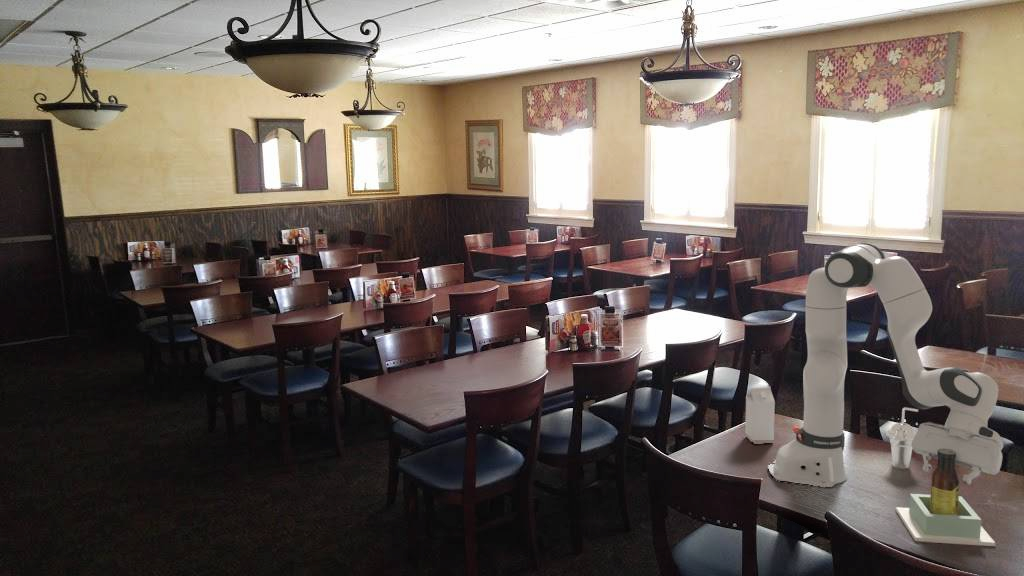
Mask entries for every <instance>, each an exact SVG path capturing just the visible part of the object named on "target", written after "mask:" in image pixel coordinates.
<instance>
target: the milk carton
mask: <svg viewBox="0 0 1024 576" xmlns="http://www.w3.org/2000/svg"><path fill="white" fill-rule="evenodd" d="M771 388H772V387H771V386H764V387H763V386H761V387H750V389H749V390H750V391H749V392H748V393H747V395H746V396H745V429H744V431H745V433H746V434H747V435H748V436H749V437H750V438H751V439H752V440H774V439H775V416H776V415H775V409H776V408H775V407H776V406H775V405H776V401H775V398H774V395H773V393H772V389H771ZM745 433H744V434H745ZM774 441H775V440H774Z"/></svg>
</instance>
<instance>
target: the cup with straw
mask: <svg viewBox="0 0 1024 576" xmlns="http://www.w3.org/2000/svg"><path fill="white" fill-rule="evenodd" d="M905 411H911V412H916V413H917V412H918V413H919V412H920V409H919V408H912V407H903V408H902V411H901V422H897V423H895V424H893V425H892V426H891V428H890V429H888V431H887V433H886V435H887V437H889V443H890V449H891V452H890V453H891V462H892V466H893V467H894V468H897V469H900V470H901V469H902V470H903V469H904V470H905V469H906V468H907V469H909V468H910V467H909V465H910V462H911V458H912V454H913V453H912V452H913V448H912V446H911V443H912V441H913V439H914V437H915V435H916V434H917V432H915V429H914V428H913V427H912V426H911V424H908V423H906V422H905V413H906V412H905ZM908 467H909V468H908Z"/></svg>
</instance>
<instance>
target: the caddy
mask: <svg viewBox="0 0 1024 576" xmlns="http://www.w3.org/2000/svg"><path fill="white" fill-rule="evenodd" d="M930 495H931V494H922V493H909V502H908V503H909V504H908V505H909V506H908V507H897V506H896V507H895V511H896V514H897V515H898V516H899V518H900V520H901V521H902V523H903V524H904V526H905V528H906V529H907V530H908V532H909V534H910V535H911V537H912V538H913V540H914V542H923V543H936V544H937V543H938V544H939V543H941V544H953V545H968V546H985V547H996V542H995V540H994V539H993V538H992V537H991V536H990V535H989V533H988V532H987V531H986V530H985V529H984V527H983V526H982V518H981V517H980V516H979V515H978V514H977V513H976V511H974V509H973V508H972V507H971V506H970V504H969V503H968V502H967V501H966V500H965V498H964V497H963V496H962V495H961V496H960V495H959V500H958V516H957V515H940V514H930Z"/></svg>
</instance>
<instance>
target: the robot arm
mask: <svg viewBox="0 0 1024 576" xmlns="http://www.w3.org/2000/svg"><path fill="white" fill-rule="evenodd" d="M867 286H870V287H872V288H873V289H874V290H875V291H876V292H877V295H878V297H879V299H880V301H881V303H882V304H883V307H884V311H885V314H886V317H887V325H886V331H887V337H888V341H889V343H890V348H891V350H892V352H893V356H894V358H895V362H896V365H897V368H898V372H899V375H900V378H901V379H900V380H901V387H902V393H903V396H904V397H905V399H906V401H907V402H908V403H909V404H910V405H911V406H912V407H915V409H918V410H929V409H932V408H937V407H942V406H943V407H944V406H947V407H948V408H949V409H950V412H949V414H948V417H947V418H946V421H945V423H944V425H943V424H940V423H934V422H932V421H927V422H923V423H920V424H919V425H918V427H917V432H916V435H915V437H914V439H913V441H912V443H911V446H912V448H913V449H912V451H913V452H914V453H916V454H918V455H921V456H922V459H923V465H922V471H923V472H926V473H929V474H930V473H931V472H932V468H933V466H932V464H930V463H929V461H931V459H936V460H938V455H937V452H938V449H950V450H953V451H955V452H956V458H955V465H957V466H960V467H965V468H968V469H971V470H972V471H971V472H969V474H965V473H964V474H963V477H962V483H964V484H967V485H968V486H969V485H971V484H972V480H974V479H975V478H977V477H978V476H980V474H981V473H985V474H990V475H994V476H995V475H997V474H998V473H999V472H1000V469H1001V467H1002V465H1003V464H1002V463H1003V453H1002V449H1003V448H1004V442H1003V439H1002V438H1001V436H1000V434H999V433H998V432H997V431H995V430H993V429H991V428H989V427H988V422H989V419H990V417H992V414H993V413H994V410H995V407H996V404H997V401H998V398H999V385H998V383H997V382H996V380H994V379H993V378H992V377H991V376H989V375H988V374H986V373H982V372H978V371H974V372H968V371H965V370H963V369H961V368H958V367H954V366H952V367H942V368H938V369H937V368H936V369H933V370H927V369H926V368H924V366H923V363H922V360H921V357H920V354H919V351H918V346H917V344H916V335H917V333H918V331H919V330H920V329H921V328H922V327H923V326H924V325H925V324H926V323H927V322H928V321H929V319H930V317H931V315H932V312H933V304H932V303H933V302H932V298H931V297H930V294H929V293H928V290H927V289H926V287H925V284H924V283H923V280H922V279H921V278H920V276H919V274H918V273H917V271H916V270H915V269H914V267H913V265H911V263H910V262H909V261H908V259H906V258H905V257H903V256H898V255H897V256H896V255H895V256H888V257H885V254H884V253H883V251H882V250H881V248H879V247H878V246H876V245H875V244H872V243H868V242H867V243H866V242H865V243H864V242H862V243H857V244H853V245H849V246H846V247H844V248H842V249H841V250H837V251H836V252H834V253H832V254H831V255H830V256H829V257H828V259H827V260H826V262H825V265H824V267H819V268H817V269H814V270H813V271H811V273H810V274H809V276H808V280H807V285H806V291H805V335H806V344H807V345H806V347H807V348H806V349H807V358H806V359H807V360H806V363H805V365H804V367H803V372H802V373H803V375H802V376H803V377H802V378H803V379H802V380H803V381H802V385H803V386H802V388H803V390H802V391H803V406H804V407H803V424H802V425H803V426H802V427H801V428H800V427H799V426H798V425H793V427H792V432H793V433H794V434H795V439H793V440H791V441H790V442H788V443H786V444H785V445H782V446H781V447H779V448H778V449H777V452H776V456H775V459H774V460H775V461H774V462H773V463H775V464H770V465H768V464H767V470H768V469H769V471H770V473H771V474H772V475H773V476H774V477H775V478H777V479H780V480H785V481H792V482H798V483H803V484H809V485H808V486H810V485H813V486H812V487H818V486H820V488H825V487H831V488H833V486H835V485H838V484H842V483H844V482H845V481H846V480H847V479H848V476H847V472H846V471H847V470H846V469H845V468H846V467H845V462H844V449H845V442H846V440H845V438H846V436H845V432H844V418H845V416H844V415H845V399H844V398H845V380H846V379H845V378H846V374H847V373H846V372H847V369H848V339H847V295H848V290H849V289H853V288H864V287H867ZM775 474H776V475H775Z"/></svg>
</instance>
